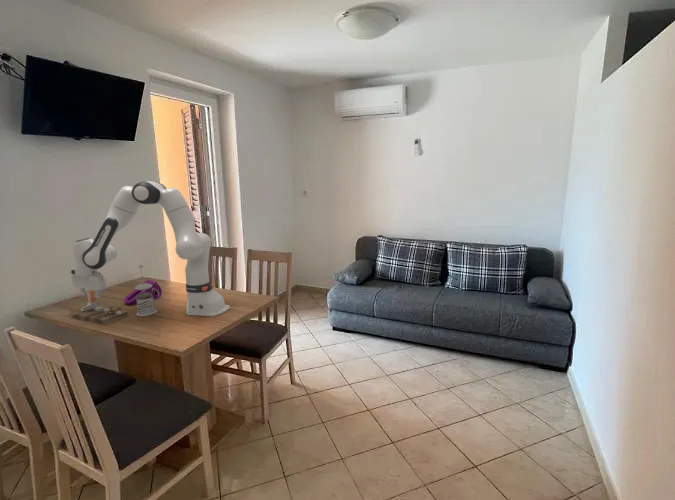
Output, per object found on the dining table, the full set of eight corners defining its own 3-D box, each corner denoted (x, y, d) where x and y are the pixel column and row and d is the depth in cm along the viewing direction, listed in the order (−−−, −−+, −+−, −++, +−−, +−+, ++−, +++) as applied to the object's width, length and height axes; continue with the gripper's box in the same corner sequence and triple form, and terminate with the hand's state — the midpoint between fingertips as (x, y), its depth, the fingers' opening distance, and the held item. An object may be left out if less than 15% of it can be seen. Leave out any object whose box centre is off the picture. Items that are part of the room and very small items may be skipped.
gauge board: (128, 315, 190) (126, 304, 189) (106, 324, 180) (104, 313, 178) (95, 309, 199) (93, 299, 198) (72, 317, 188) (70, 307, 187)
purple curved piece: (138, 315, 207) (164, 293, 219) (129, 303, 203) (156, 282, 214) (129, 311, 212) (155, 290, 224) (120, 300, 208) (147, 279, 219)
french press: (137, 310, 197) (131, 263, 192) (161, 307, 201) (156, 261, 196) (134, 317, 188) (128, 268, 183) (160, 313, 192) (154, 265, 187)
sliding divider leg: (98, 307, 195) (95, 290, 193) (84, 312, 188) (81, 294, 186) (94, 306, 196) (91, 289, 194) (79, 311, 189) (76, 293, 188)
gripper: (107, 270, 189) (111, 297, 192) (80, 267, 197) (84, 293, 200) (95, 274, 183) (99, 301, 186) (67, 270, 191) (72, 296, 194)
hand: (91, 296), depth 193 cm, fingers open, 8 cm apart
